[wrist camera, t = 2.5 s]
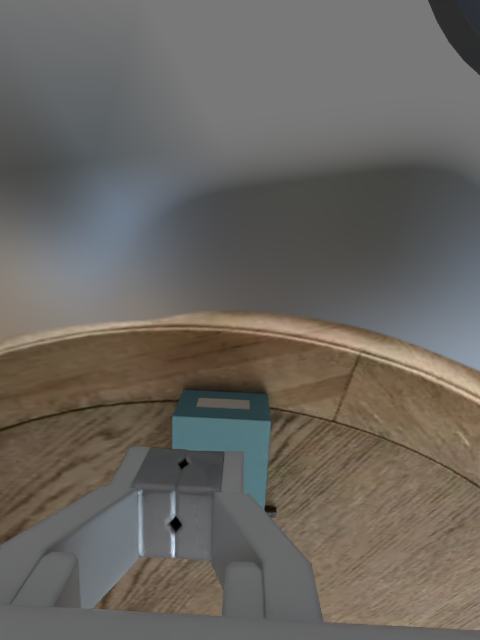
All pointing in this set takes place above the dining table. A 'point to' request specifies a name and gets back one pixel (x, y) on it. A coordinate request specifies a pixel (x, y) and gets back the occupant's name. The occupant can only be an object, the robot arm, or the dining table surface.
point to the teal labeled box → (227, 430)
